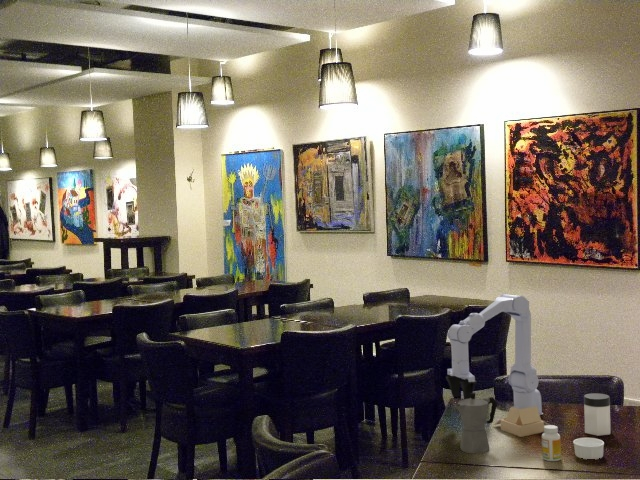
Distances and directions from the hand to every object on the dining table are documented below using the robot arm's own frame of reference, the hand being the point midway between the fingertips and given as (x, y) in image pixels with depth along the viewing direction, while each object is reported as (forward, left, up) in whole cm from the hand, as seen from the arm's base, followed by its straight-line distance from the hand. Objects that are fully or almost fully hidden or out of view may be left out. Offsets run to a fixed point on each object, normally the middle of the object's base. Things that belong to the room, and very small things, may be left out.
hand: (461, 398), depth 277 cm
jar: (-33, +29, -10) cm, 45 cm away
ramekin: (-13, +45, -10) cm, 48 cm away
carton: (-14, +14, -10) cm, 22 cm away
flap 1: (-14, +9, -6) cm, 18 cm away
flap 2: (-9, +14, -6) cm, 18 cm away
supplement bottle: (-2, +41, -10) cm, 43 cm away
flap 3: (-14, +19, -6) cm, 25 cm away
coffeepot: (+10, +21, -10) cm, 26 cm away
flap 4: (-19, +14, -6) cm, 25 cm away
